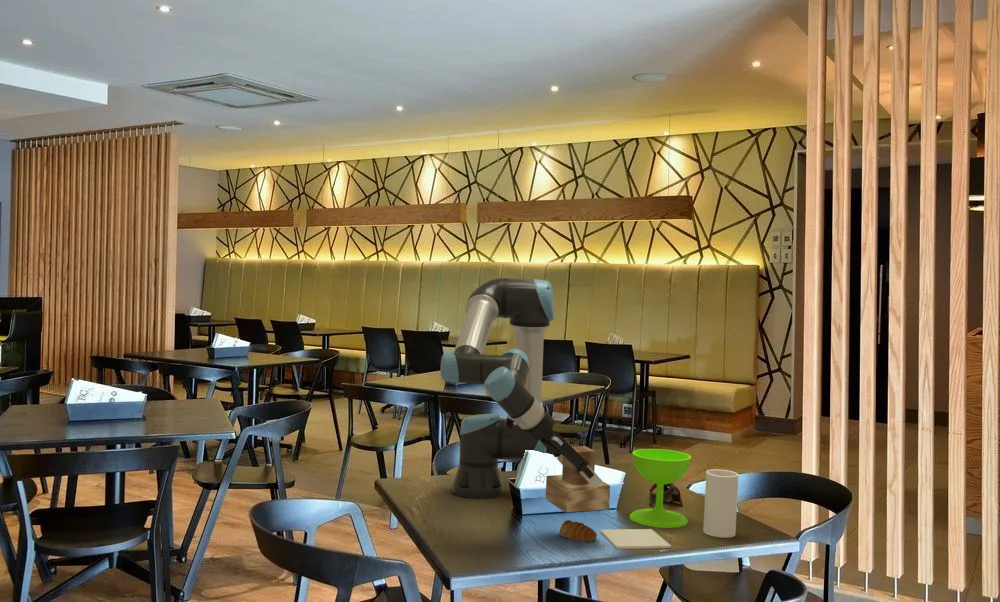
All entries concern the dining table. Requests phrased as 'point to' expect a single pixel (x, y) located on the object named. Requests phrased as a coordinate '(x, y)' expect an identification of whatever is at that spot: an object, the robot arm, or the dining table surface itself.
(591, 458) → the cover
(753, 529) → the dining table surface
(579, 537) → the pastry
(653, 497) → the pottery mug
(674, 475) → the wineglass
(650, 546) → the tile
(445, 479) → the dining table surface
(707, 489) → the cup
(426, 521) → the dining table surface
